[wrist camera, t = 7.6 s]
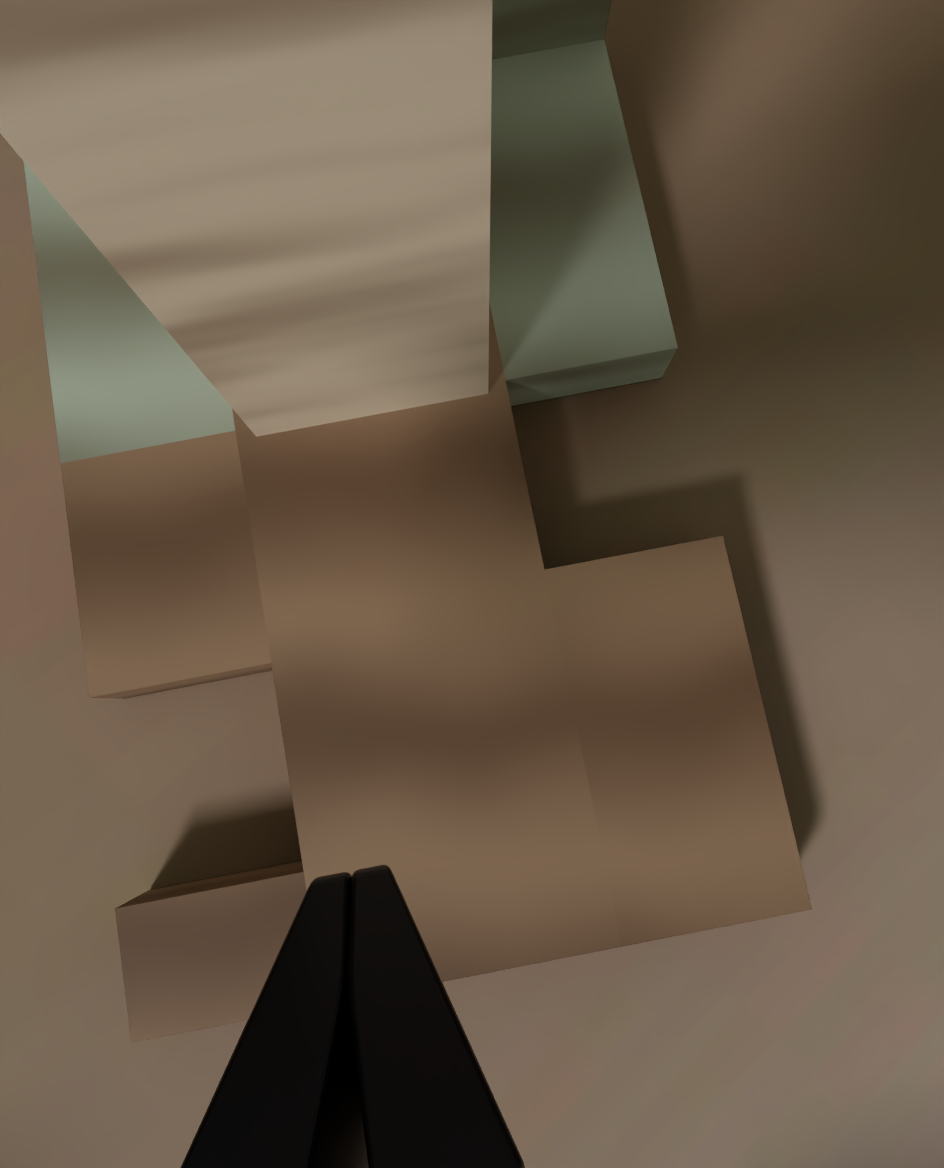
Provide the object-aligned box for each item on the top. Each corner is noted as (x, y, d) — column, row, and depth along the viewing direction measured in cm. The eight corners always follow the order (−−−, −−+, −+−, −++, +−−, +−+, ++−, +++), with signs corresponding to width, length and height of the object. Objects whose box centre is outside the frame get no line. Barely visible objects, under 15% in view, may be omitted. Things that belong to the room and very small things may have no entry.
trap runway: (781, 890, 22) (870, 945, 17) (164, 1011, 21) (67, 1102, 16) (584, 47, 25) (608, -115, 20) (53, 144, 25) (-54, 5, 20)
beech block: (488, 393, 22) (494, -305, 7) (256, 436, 21) (-258, -172, 7) (432, 114, 23) (333, -1011, 8) (212, 153, 23) (-307, -903, 8)
